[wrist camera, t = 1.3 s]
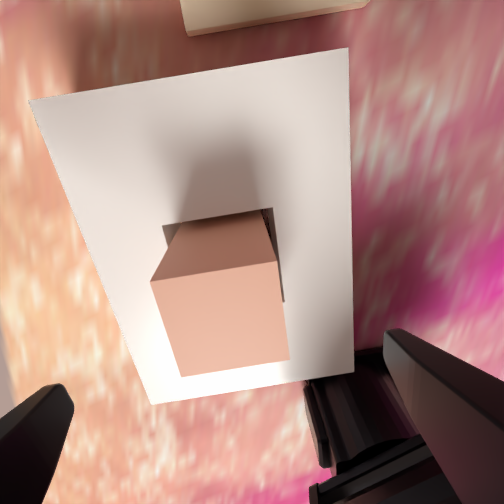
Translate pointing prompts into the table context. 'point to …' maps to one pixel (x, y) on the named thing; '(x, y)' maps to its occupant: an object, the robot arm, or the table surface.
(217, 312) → the plug
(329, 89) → the socket block
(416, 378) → the robot arm
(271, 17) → the pad
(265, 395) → the table surface
